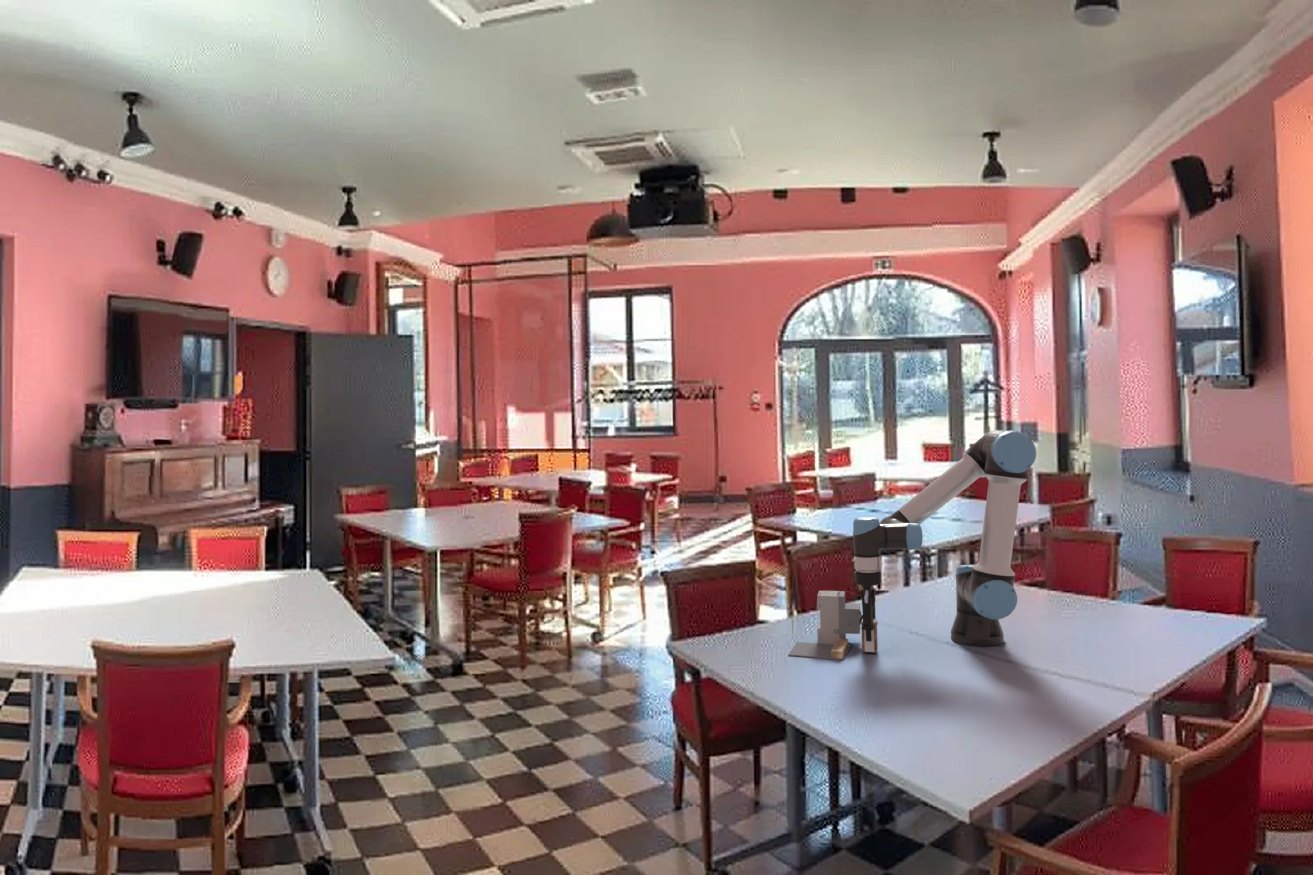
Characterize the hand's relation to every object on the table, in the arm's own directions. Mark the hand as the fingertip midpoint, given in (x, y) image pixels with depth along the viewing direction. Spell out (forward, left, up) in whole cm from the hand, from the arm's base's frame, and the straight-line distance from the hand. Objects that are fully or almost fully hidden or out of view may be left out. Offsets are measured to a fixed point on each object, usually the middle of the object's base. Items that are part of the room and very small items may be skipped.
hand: (870, 649), depth 248 cm
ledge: (+8, +3, -1) cm, 9 cm away
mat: (+14, +3, -1) cm, 15 cm away
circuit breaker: (+9, -9, -1) cm, 13 cm away
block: (0, 0, 0) cm, 0 cm away
